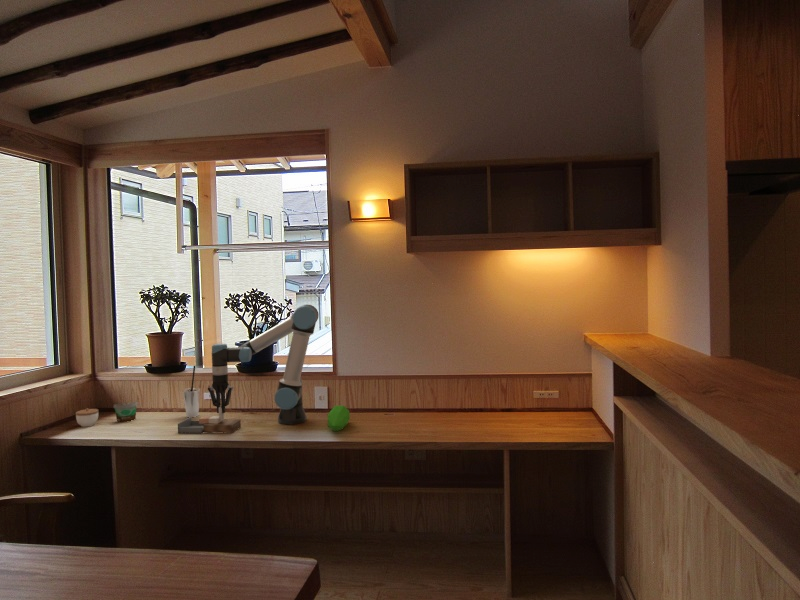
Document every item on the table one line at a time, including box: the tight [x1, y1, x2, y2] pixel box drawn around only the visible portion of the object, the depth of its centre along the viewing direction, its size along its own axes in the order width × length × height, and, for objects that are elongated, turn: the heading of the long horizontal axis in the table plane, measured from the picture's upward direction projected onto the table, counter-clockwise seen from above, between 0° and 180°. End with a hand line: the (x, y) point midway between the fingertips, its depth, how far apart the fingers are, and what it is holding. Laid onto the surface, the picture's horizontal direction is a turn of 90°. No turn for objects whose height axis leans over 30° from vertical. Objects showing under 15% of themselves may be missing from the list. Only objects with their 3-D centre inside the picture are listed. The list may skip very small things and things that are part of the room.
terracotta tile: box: [198, 415, 213, 424], centre depth 277 cm, size 5×5×2 cm
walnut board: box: [203, 418, 242, 434], centre depth 276 cm, size 15×11×4 cm
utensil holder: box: [181, 365, 202, 418], centre depth 304 cm, size 11×11×30 cm
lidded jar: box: [75, 407, 99, 428], centre depth 290 cm, size 11×11×9 cm
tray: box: [177, 417, 204, 434], centre depth 278 cm, size 13×13×5 cm
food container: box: [113, 400, 139, 423], centre depth 297 cm, size 12×6×10 cm, turn 129°
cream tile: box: [209, 415, 222, 424], centre depth 277 cm, size 5×5×2 cm
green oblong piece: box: [327, 405, 351, 432], centre depth 273 cm, size 11×12×30 cm
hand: (221, 419), depth 276 cm, fingers closed
